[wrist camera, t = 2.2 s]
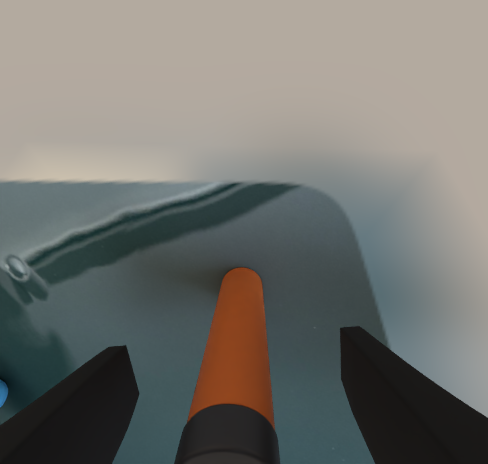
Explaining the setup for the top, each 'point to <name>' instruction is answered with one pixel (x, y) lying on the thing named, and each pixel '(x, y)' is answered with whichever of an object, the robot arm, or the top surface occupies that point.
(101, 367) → the robot arm
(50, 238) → the top surface
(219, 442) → the marker
